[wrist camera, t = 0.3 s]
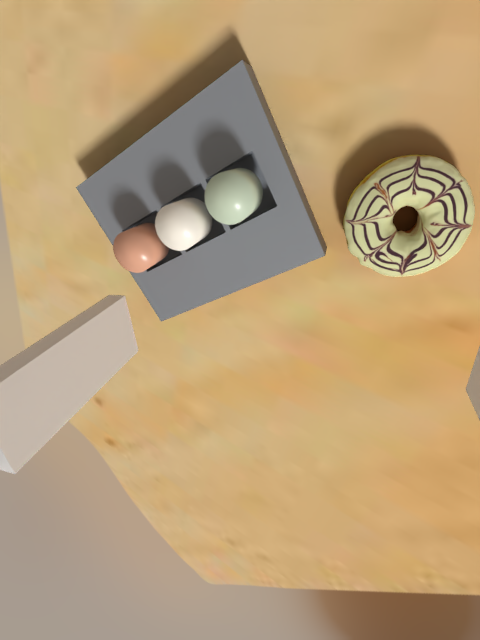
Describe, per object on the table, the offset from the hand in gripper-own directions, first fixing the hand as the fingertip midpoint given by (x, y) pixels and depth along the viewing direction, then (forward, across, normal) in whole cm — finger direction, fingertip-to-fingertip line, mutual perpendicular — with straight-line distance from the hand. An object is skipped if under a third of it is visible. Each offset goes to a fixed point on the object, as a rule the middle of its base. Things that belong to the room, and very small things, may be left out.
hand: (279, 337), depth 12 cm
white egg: (+22, -13, 0) cm, 26 cm away
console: (+25, -13, 0) cm, 28 cm away
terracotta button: (+22, -19, -2) cm, 29 cm away
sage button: (+22, -8, +2) cm, 24 cm away
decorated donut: (+26, +7, 0) cm, 27 cm away
